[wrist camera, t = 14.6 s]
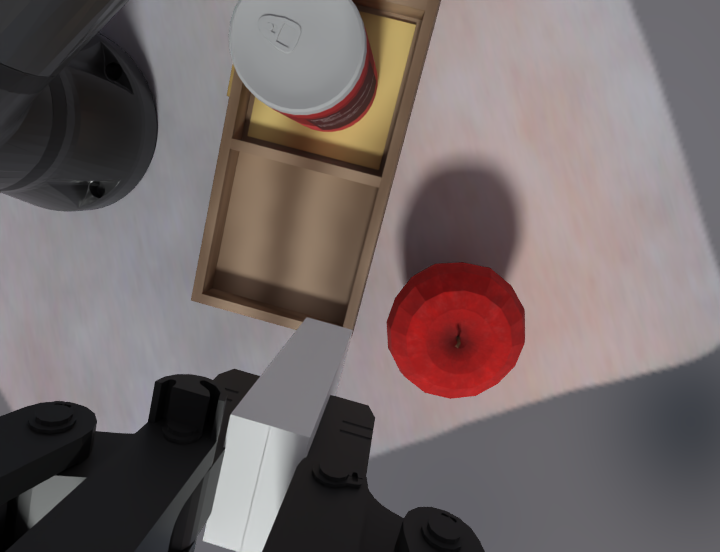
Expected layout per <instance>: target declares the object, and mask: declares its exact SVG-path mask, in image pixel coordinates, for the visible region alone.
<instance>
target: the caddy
mask: <svg viewBox="0 0 720 552" xmlns="http://www.w3.org/2000/svg"><path fill="white" fill-rule="evenodd" d="M352 1H353V3H354V4H355V6H356V7H357V9H358V11H359V13H360V15H361V18H362V20H363V23H364V26H365V28H366V32H367V35H368V39H369V43H370V46H371V50H372V54H373V57H374V61H375V65H376V70H377V75H378V86H377V91H376V96H375V99H374V101H373V104H372V106H371V107H370V109H369V110H368V112H367V114H366V115H365V116H364V117H363V118H362V119H361V120H360V121H358V122H357V123H355V124H354V125H353V126H351V127H348V128H346V129H344V130H340V131H335V132H321V131H317V130H313V129H310V128H308V127H306V126H303V125H301V124H300V123H298V122H296V121H294V120H292V119H290V118H288V117H286V116H284V115H283V114H281V113H279V112H277V111H275V110H273V109H272V108H270V107H269V106H267V105H266V104H264V103H263V102H261V101H260V100H258V99H257V98H256V97H255V96H254V95H253V94H252V93H251V92H250V91H249V90H248V88H247V87H246V86H245V85H244V83H243V82H242V80H241V79H240V77H239V76H238V74H237V72H236V69H235V67H234V65H232V70H231V76H230V81H229V86H228V92H227V96H228V97H229V102H228V107H227V112H226V117H225V123H224V128H223V133H222V139H221V144H220V149H219V155H218V160H217V165H216V170H215V176H214V181H213V186H212V192H211V197H210V202H209V208H208V213H207V218H206V223H205V229H204V234H203V239H202V245H201V250H200V255H199V260H198V266H197V271H196V276H195V282H194V287H193V292H192V298H191V301H195V302H199V303H202V304H206V305H209V306H213V307H216V308H220V309H223V310H227V311H231V312H234V313H238V314H241V315H245V316H248V317H252V318H256V319H259V320H263V321H266V322H270V323H273V324H277V325H280V326H284V327H288V328H291V329H295V330H297V329H298V328H299V326H300V325H301V324H302V323H303V321H304V320H305V319H306V318H307V317H308V318H312V319H315V320H319V321H322V322H326V323H330V324H333V325H337V326H340V327H344V328H347V329H351V330H353V331H354V327H355V323H356V319H357V315H358V312H359V308H360V304H361V300H362V297H363V293H364V289H365V285H366V281H367V278H368V274H369V270H370V266H371V263H372V259H373V255H374V251H375V248H376V244H377V240H378V236H379V232H380V229H381V225H382V221H383V217H384V214H385V210H386V206H387V202H388V198H389V195H390V191H391V187H392V183H393V180H394V176H395V172H396V168H397V165H398V161H399V157H400V153H401V149H402V146H403V142H404V138H405V134H406V131H407V127H408V123H409V119H410V116H411V112H412V108H413V104H414V100H415V97H416V93H417V89H418V85H419V82H420V78H421V74H422V70H423V66H424V63H425V59H426V55H427V51H428V48H429V44H430V40H431V36H432V33H433V29H434V25H435V21H436V17H437V14H438V10H439V6H440V2H441V0H352ZM352 334H353V332H352ZM351 337H352V336H351Z"/></svg>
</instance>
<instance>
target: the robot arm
mask: <svg viewBox="0 0 720 552" xmlns="http://www.w3.org/2000/svg"><path fill="white" fill-rule="evenodd" d="M128 1H129V0H0V192H1V193H3V194H6V195H9V196H11V197H14V198H17V199H20V200H22V201H25V202H28V203H30V204H33V205H36V206H38V207H42V208H45V209H50V210H56V211H83V210H93V209H98V208H102V207H105V206H108V205H111V204H113V203H115V202H117V201H118V200H120V199H122V198H123V197H124V196H126V195H127V194H128V193H129V192H130V191H132V190H133V189H134V188H135V186H136V185H137V184H138V183H139V182H140V180H141V179H142V177H143V176H144V174H145V172H146V171H147V169H148V167H149V164H150V162H151V159H152V156H153V153H154V149H155V144H156V135H157V121H156V112H155V106H154V102H153V98H152V95H151V92H150V89H149V87H148V85H147V82H146V80H145V78H144V77H143V75H142V73H141V71H140V70H139V68H138V67H137V65H136V64H135V63H134V61H133V60H132V59H131V58H130V57H129V56H128V55H127V54H126V52H124V51H123V50H122V49H121V48H120V47H119V46H118V45H116V44H115V43H114V42H112V41H111V40H109V39H108V38H106V37H104V36H102V35H100V34H98V32H99V31H100V30H101V29H102V28H103V27H104V26H105V25H106V24H107V23H108V22H109V21H110V19H111V18H112V17H113V16H114V15H115V14H116V13H117V12H118V11H119V10H120V9H121V8H122V7H123V6H124V5H125V4H126V3H127V2H128ZM352 332H353V330H351V329H347V328H344V327H340V326H337V325H333V324H330V323H326V322H322V321H319V320H315V319H312V318H308V317H307V318H306V319H305V320H304V321H303V323H302V324H301V325H300V326H299V328H298V329H297V330H296V332H295V333H294V334H293V335H292V337H291V338H290V339H289V340H288V342H287V343H286V344H285V346H284V347H283V348H282V349H281V351H280V352H279V353H278V354H277V356H276V357H275V358H274V360H273V361H272V362H271V363H270V365H269V366H268V367H267V368H266V370H265V371H264V372H263V374H262V375H261V376H258V375H254V374H251V373H247V372H244V371H240V370H237V369H232V370H230V371H227V372H224V373H221V374H219V375H218V376H217V377H216V378H215V379H214V380H211V379H209V378H206V377H202V376H197V375H190V374H177V375H171V376H166V377H163V378H161V379H159V380H157V381H155V386H154V391H153V397H152V402H151V408H150V414H149V419H148V422H147V423H146V424H145V425H144V426H143V427H142V428H141V429H140V430H139V431H138V432H136V433H135V434H123V433H110V432H99V431H96V424H97V420H96V416H95V413H93V412H92V411H91V410H89V409H88V408H87V407H84V406H81V405H78V404H75V403H71V402H64V401H54V402H45V403H38V404H35V405H31V406H27V407H24V408H21V409H19V410H16V411H13V412H11V413H8V414H6V415H3V416H0V552H194V549H195V544H196V540H197V536H198V534H199V533H200V531H201V529H202V528H203V526H204V524H205V523H206V521H207V525H206V529H205V534H204V538H203V541H205V542H208V543H211V544H215V545H218V546H221V547H224V548H228V549H231V550H234V551H237V552H485V551H484V549H483V547H482V545H481V543H480V541H479V539H478V538H477V536H476V535H475V533H474V532H473V530H472V529H471V528H470V527H469V526H468V525H467V524H465V523H464V522H463V521H462V520H461V519H459V518H458V517H456V516H454V515H453V514H450V513H449V512H447V511H444V510H440V509H437V508H433V507H418V508H415V509H413V510H411V511H409V512H408V513H407V514H406V516H405V518H402V517H400V516H399V515H397V514H395V513H393V512H391V511H390V510H388V509H387V508H385V507H384V506H382V505H381V504H380V503H379V502H378V501H377V500H376V499H375V498H374V497H373V495H372V494H371V493H370V492H369V489H368V484H367V477H366V473H367V466H368V460H369V453H370V447H371V440H372V434H373V427H374V421H375V417H374V415H373V413H372V411H371V409H370V408H369V406H368V405H364V404H361V403H357V402H354V401H350V400H347V399H343V398H340V397H336V392H337V388H338V385H339V381H340V377H341V373H342V370H343V366H344V362H345V358H346V355H347V351H348V347H349V343H350V339H351V336H352Z"/></svg>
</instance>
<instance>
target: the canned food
mask: <svg viewBox="0 0 720 552" xmlns="http://www.w3.org/2000/svg"><path fill="white" fill-rule="evenodd" d="M229 50H230V54H231V58H232V62H233V65H234V67H235V69H236V72H237V74H238V76H239V77H240V79H241V80H242V82H243V83H244V85H245V86H246V87H247V88H248V90H249V91H250V92H251V93H252V94H253V95H254V96H255V97H256V98H257V99H258V100H260V101H261V102H263V103H264V104H266V105H267V106H269V107H270V108H272V109H273V110H275V111H277V112H279V113H281V114H283V115H284V116H286V117H288V118H290V119H292V120H294V121H296V122H298V123H300V124H301V125H303V126H306V127H308V128H310V129H313V130H317V131H321V132H335V131H340V130H344V129H346V128H348V127H351V126H353V125H354V124H355V123H357V122H358V121H360V120H361V119H362V118H363V117H364V116H365V115H366V114H367V112H368V110H369V109H370V107H371V106H372V104H373V101H374V99H375V96H376V91H377V86H378V75H377V70H376V65H375V61H374V57H373V54H372V50H371V46H370V43H369V39H368V35H367V32H366V28H365V26H364V23H363V20H362V18H361V15H360V13H359V11H358V9H357V7H356V6H355V4H354V3H353V1H352V0H239V1H238V3H237V5H236V7H235V8H234V11H233V15H232V18H231V21H230V28H229Z"/></svg>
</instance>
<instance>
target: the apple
mask: <svg viewBox="0 0 720 552" xmlns="http://www.w3.org/2000/svg"><path fill="white" fill-rule="evenodd" d="M387 336H388V348H389V350H390V352H391V354H392V356H393V358H394V360H395V362H396V364H397V366H398V368H399V370H400V372H401V373H402V374H403V375H404V376H405V377H406V378H407V379H408V380H410V381H411V382H412V383H413V384H415V385H416V386H417V387H419V388H420V389H421V390H422V391H424V392H425V393H429V394H433V395H437V396H442V397H446V398H450V399H451V398H460V397H469V396H476V395H478V394H480V393H482V392H483V391H485V390H487V389H489V388H491V387H493V386H494V385H496V384H498V383H499V382H500V381H501V380H502V379H503V378H504V377H505V376H506V375H507V374H508V373H509V372H510V371H511V369H512V368H513V367H514V366H515V365H516V362H517V360H518V357H519V355H520V353H521V350H522V348H523V346H524V343H525V311H524V308H523V306H522V304H521V302H520V301H519V299H518V297H517V295H516V293H515V291H514V290H513V288H512V286H511V285H510V284H509V283H507V282H506V281H505V280H504V279H503V278H501V277H500V276H499V275H498V274H497V273H495V272H494V271H493V270H492V269H491V268H487V267H483V266H478V265H473V264H468V263H464V262H458V263H439V264H434V265H432V266H430V267H428V268H426V269H425V270H423V271H421V272H419V273H417V274H416V275H414V276H413V277H411V279H410V280H409V281H408V282H407V284H406V285H405V286H404V287H403V289H402V290H401V291H400V293H399V294H398V295H397V296H396V298H395V300H394V303H393V306H392V308H391V311H390V314H389V317H388V319H387Z"/></svg>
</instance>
